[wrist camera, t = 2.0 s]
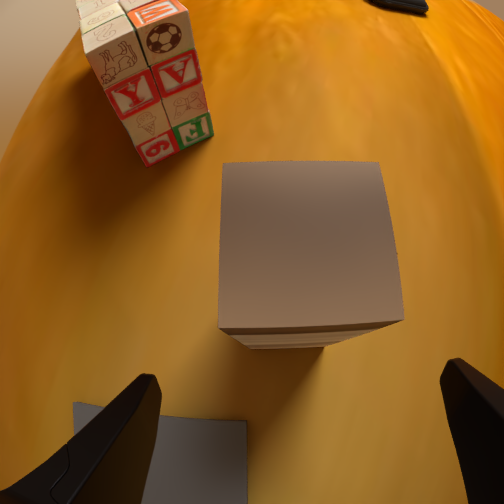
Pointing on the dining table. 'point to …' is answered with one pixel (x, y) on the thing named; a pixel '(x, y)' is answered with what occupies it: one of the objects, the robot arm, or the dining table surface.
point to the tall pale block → (305, 253)
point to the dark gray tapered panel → (191, 459)
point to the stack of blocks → (148, 72)
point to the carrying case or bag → (404, 5)
